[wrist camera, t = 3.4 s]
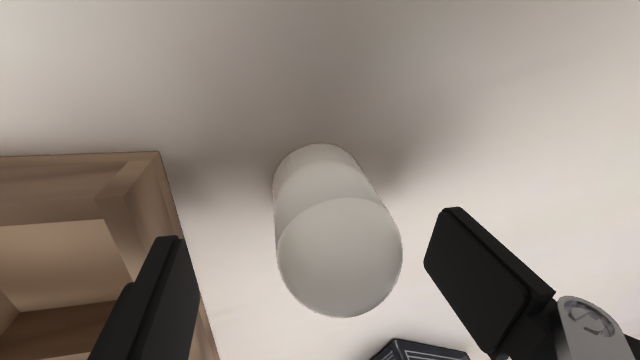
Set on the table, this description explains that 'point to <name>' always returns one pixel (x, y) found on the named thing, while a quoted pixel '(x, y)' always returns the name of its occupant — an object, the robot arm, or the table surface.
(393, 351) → the small box
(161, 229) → the crate
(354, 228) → the white rounded cylinder
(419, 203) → the table surface
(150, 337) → the robot arm
